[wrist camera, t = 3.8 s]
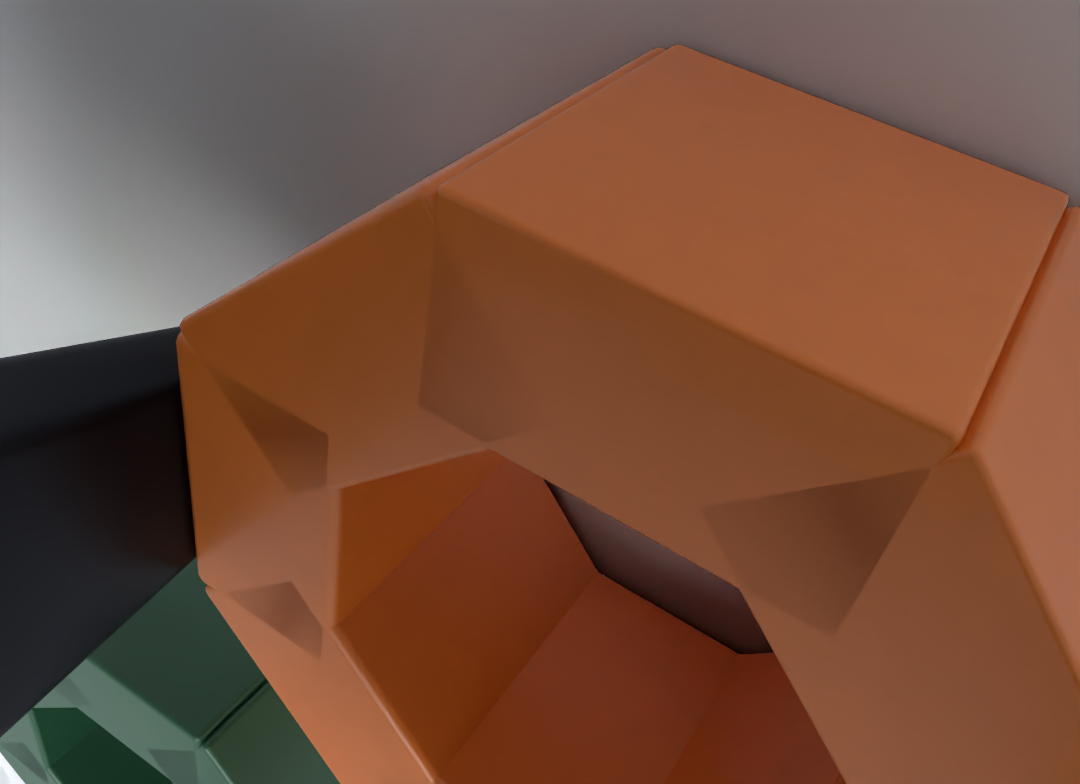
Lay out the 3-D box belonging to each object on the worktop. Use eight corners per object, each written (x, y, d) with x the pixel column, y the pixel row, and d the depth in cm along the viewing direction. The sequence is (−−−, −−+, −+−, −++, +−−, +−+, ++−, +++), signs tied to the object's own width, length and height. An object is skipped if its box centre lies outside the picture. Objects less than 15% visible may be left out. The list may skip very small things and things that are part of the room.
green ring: (65, 517, 18) (-99, 630, 16) (285, 443, 13) (89, 592, 11) (288, 824, 20) (166, 962, 18) (556, 860, 15) (432, 1058, 13)
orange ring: (296, 251, 11) (57, 389, 9) (952, -122, 6) (765, -11, 4) (609, 761, 13) (472, 978, 11) (1321, 791, 8) (1325, 1204, 6)
